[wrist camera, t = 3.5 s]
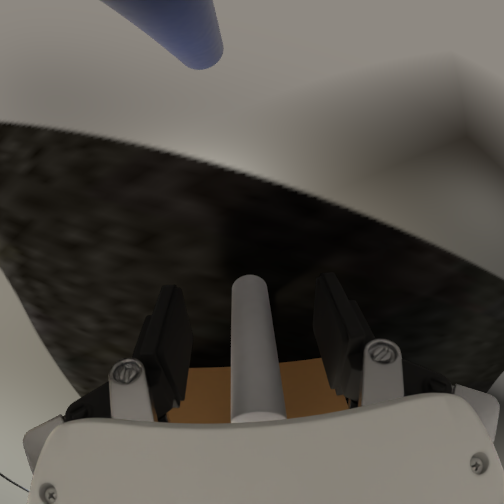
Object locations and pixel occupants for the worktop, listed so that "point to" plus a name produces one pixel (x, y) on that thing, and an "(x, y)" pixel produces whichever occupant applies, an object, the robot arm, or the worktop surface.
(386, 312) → the worktop surface
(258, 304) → the door
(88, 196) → the worktop surface
